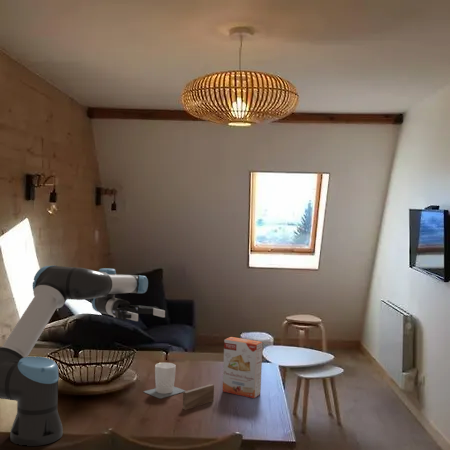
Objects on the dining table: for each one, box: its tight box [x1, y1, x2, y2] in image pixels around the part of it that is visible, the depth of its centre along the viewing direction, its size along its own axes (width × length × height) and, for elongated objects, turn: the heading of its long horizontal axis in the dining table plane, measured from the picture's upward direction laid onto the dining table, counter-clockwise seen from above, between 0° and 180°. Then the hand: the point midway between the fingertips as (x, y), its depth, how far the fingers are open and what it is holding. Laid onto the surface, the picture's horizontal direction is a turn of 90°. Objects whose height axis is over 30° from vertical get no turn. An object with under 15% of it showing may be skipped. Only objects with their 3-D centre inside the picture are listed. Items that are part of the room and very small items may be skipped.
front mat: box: [143, 386, 186, 400], centre depth 220 cm, size 10×13×1 cm
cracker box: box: [221, 336, 263, 399], centre depth 221 cm, size 14×6×21 cm, turn 62°
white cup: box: [154, 362, 177, 394], centre depth 219 cm, size 8×8×10 cm
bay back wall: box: [182, 383, 215, 411], centre depth 207 cm, size 2×14×6 cm, turn 137°
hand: (151, 315), depth 226 cm, fingers open, 13 cm apart
